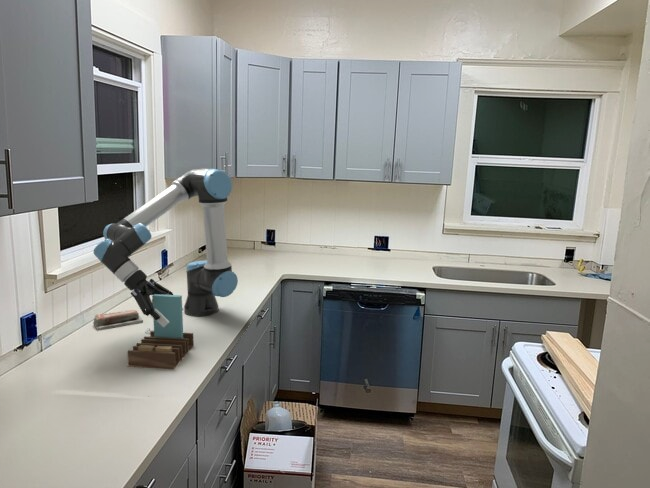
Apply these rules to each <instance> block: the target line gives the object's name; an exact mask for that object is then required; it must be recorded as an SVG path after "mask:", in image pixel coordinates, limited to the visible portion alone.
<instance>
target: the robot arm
mask: <svg viewBox="0 0 650 488" xmlns="http://www.w3.org/2000/svg"><path fill="white" fill-rule="evenodd" d="M232 183H233V182H232V179H231V177H230V175H229V174H227V173H226V171H224V170H221V169H217V168H203V167H197V168H193V169H191V170H188V171H187V172H185V173H183V174H182V175H180V176H179V177H177V178H176V179H174V180H173V181H172V182H171V185H170V186H169V187H166V189H164V190H163V191H162V192H160V193H158V194H157V195H156V196H154V197H153V198H152V199H150V200H148V201H147V202H146V203H144V204H143V205H142V206H140V207H138V208H137V209H135V210H134V211H133V212H131V213H130V214H128V215H127V216H125V217H124V218H122V219H121V220H119V221H118V222H117V223H115V222H114V223H110V224H107V225H105V227H104V229H103V232H102V234H103V238H104V239H103V240H102V241H101V242H99V243H98V244H97V245H96V246H95V247H94V249H93V254H94V256H95V257H96V258H97V260H99V261H100V263H101V264H103V265H104V266H105V267H106V268H107V270H109V271H110V272H111V273H112V274H113V275H114V276H116V278H117V280H119V281H120V282H122V283H124V286H125V287H126V288H127V289H128V290H129V291H131V292H130V295H131V297H133V298H134V300H135V301H136V304H137V306H138V307H139V308H140V310H141V313H142V314H143V316H144V315H145V316H146V317H148V316H151V317H152V319H153V318H154V319H155V320H156V321H157V322H158V323H159V324H160V325H161V326H162V327H165V326H166V325H167V324H168V323H169V321H168V320H167V319H166V318H165V317H164V316H163V315H162V314H161V313H160V312H159V311H158V310H157V309H155V310H154V307H153V304H152V299H151V296H153V295H154V294H163V295H174V293H173V292H172V291H171V290H169V289H168V288H166V287H165V286H162V285H161V284H159V283H157V282H156V281H155V280H154V279H153V278H150V279H149V280H147V277H148V276H147V274H146V273H145V272H144V271H143V270H142V269H140V268H139V266H138V265H137V264H135V262H134V261H133V260H132V259H131V258H130V257H131V256H132V255H133V254H134V253H135V252H136V251H138V250H140V249H141V248H142V247H143V246H145V245H146V244H147V243H148V242H149V241H150V240H152V233H151V231H150V230H149V229H148V226H149V225H151V224H152V223H153V222H154V221H155V222H156V220H158V219H159V218H160V217H162V216H163V215H165V214H166V213H167V212H169V211H170V210H172V209H173V208H175V207H176V206H177V205H178V204H180V203H182V202H184V201H185V202H186V201H189V200H190V199H191V198H193V197H194V198H195V197H198V204H200V206H202V209H203V210H202V211H203V212H202V214H203V224H204V225H203V226H204V237H205V249H206V250H205V252H206V253H205V254H206V259H205V260H198V261H192V262H188V263H187V264H186V284H187V285H186V287H187V296H186V299H185V303H184V307H183V306H182V312H183V311H184V314H186V315H188V316H191V317H206V316H210V315H214V314H215V313H218V312H219V303H218V301H217V298H216V297H220V298H227V297H229V296H231V295H233V293H234V291H235V290H236V289H237V286H238V284H239V282H238V281H239V279H238V276H237V274H236V273H235V272H234V271H233V270H232V269H233V268H232V266H233V265H232V263H231V262H230V261H229V260H228V248H227V247H228V246H227V234H226V233H227V232H226V231H227V230H226V215H225V205H226V203H228V197H229V196H230V194H231V193H232V190H233V184H232Z"/></svg>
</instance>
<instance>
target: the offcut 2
mask: <svg viewBox="0 0 650 488" xmlns="http://www.w3.org/2000/svg"><path fill="white" fill-rule="evenodd" d="M155 352H172V347H171V346H157V347H156V348H155Z"/></svg>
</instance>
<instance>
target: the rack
mask: <svg viewBox="0 0 650 488" xmlns="http://www.w3.org/2000/svg"><path fill="white" fill-rule="evenodd" d="M150 331H151V330H150ZM149 335H150V336H143V338H141V339H140V342H136V345H133V346H132V349H131V350H130V349H128V350H127V363H128V364H127V366H126V367H127V368H138V369H139V368H140V369H141V368H143V369H157V370H159V369H160V370H162V369H163V370H174V369H175V368H176V367H177V366H178V365H179V364H180V363H181V361H182V360H184V358H185V357H186V355H187V354H188V353H190V351H191V350H192V348H194V346H195V345H194V343H195V342H194V333H193V332H183V338H166V337H154V331H151V332H150V334H149ZM140 345H152V346H155V348H156V347H157V346H171V347H172V352H155V351H138V347H139V346H140Z"/></svg>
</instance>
